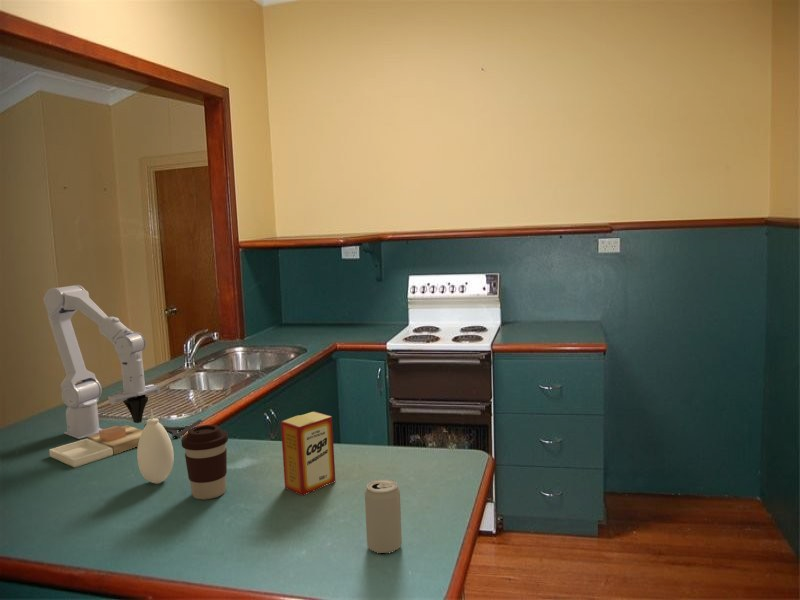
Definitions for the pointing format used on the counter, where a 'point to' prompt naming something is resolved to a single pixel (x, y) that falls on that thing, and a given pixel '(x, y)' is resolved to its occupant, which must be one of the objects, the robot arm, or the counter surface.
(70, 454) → the tray
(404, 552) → the counter surface
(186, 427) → the bracket
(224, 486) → the coffee cup
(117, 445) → the large beige panel
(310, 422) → the baking soda box
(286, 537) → the counter surface
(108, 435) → the tile
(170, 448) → the rubber air blower
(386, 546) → the beverage can
